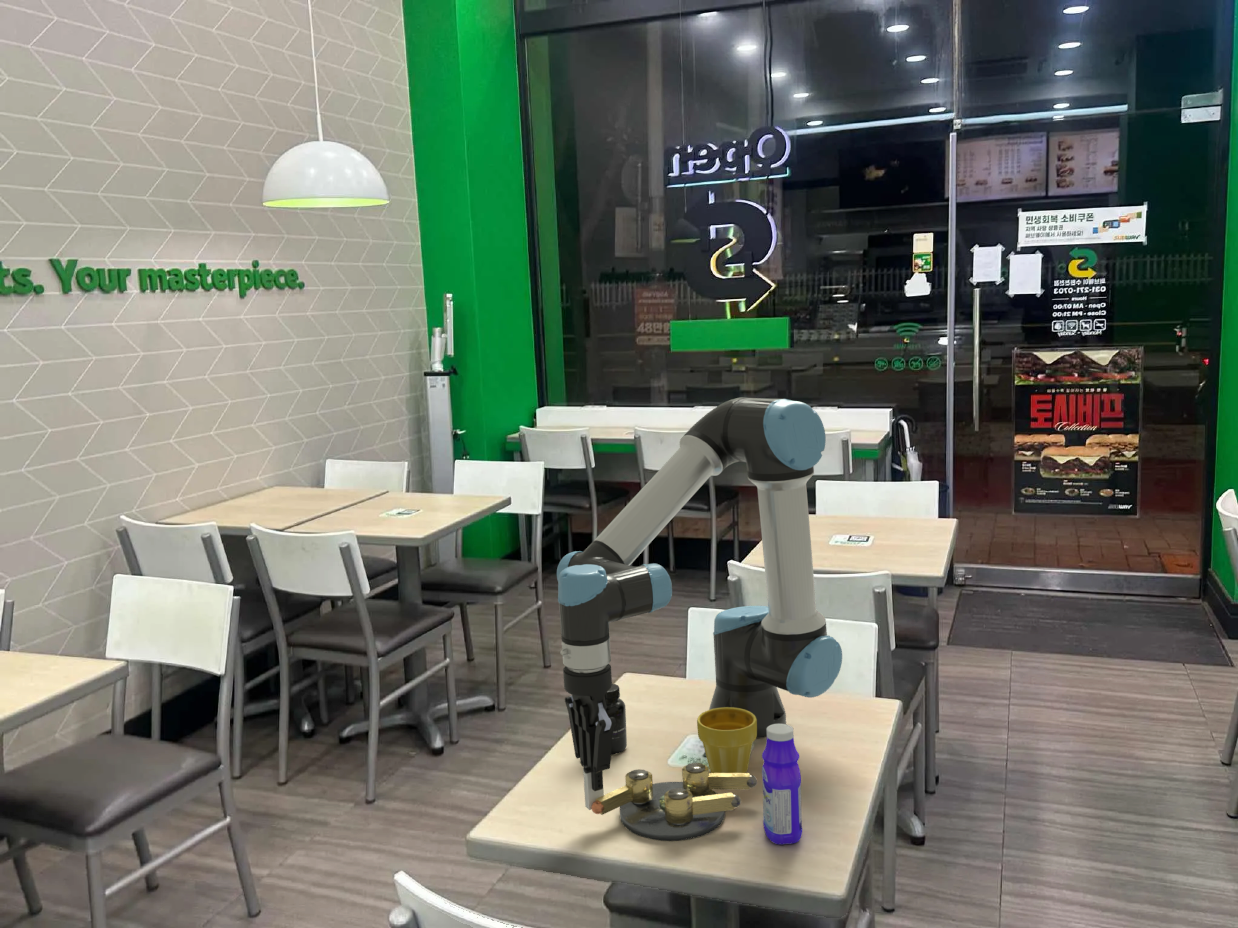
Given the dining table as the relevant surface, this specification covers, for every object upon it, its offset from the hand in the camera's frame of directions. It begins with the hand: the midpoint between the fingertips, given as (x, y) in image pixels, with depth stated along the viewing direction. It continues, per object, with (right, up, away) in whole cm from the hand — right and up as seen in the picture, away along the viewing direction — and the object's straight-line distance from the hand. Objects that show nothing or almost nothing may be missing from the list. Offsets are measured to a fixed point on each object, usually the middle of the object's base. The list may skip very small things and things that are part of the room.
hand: (594, 805), depth 164 cm
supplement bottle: (+2, +1, +29) cm, 29 cm away
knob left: (+21, +1, +6) cm, 21 cm away
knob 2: (+17, -1, -2) cm, 17 cm away
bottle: (+29, -3, -6) cm, 30 cm away
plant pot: (+23, 0, +18) cm, 29 cm away
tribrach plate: (+13, -2, +3) cm, 13 cm away
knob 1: (+4, -1, +2) cm, 5 cm away
